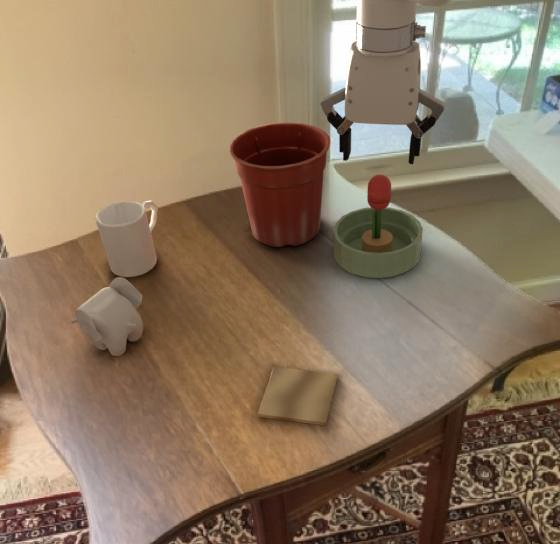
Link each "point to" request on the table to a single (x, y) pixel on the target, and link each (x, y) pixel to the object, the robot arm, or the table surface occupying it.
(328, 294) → the table surface
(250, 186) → the flower pot
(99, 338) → the elephant figurine
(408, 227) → the bowl
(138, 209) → the mug
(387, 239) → the tulip
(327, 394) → the coaster
